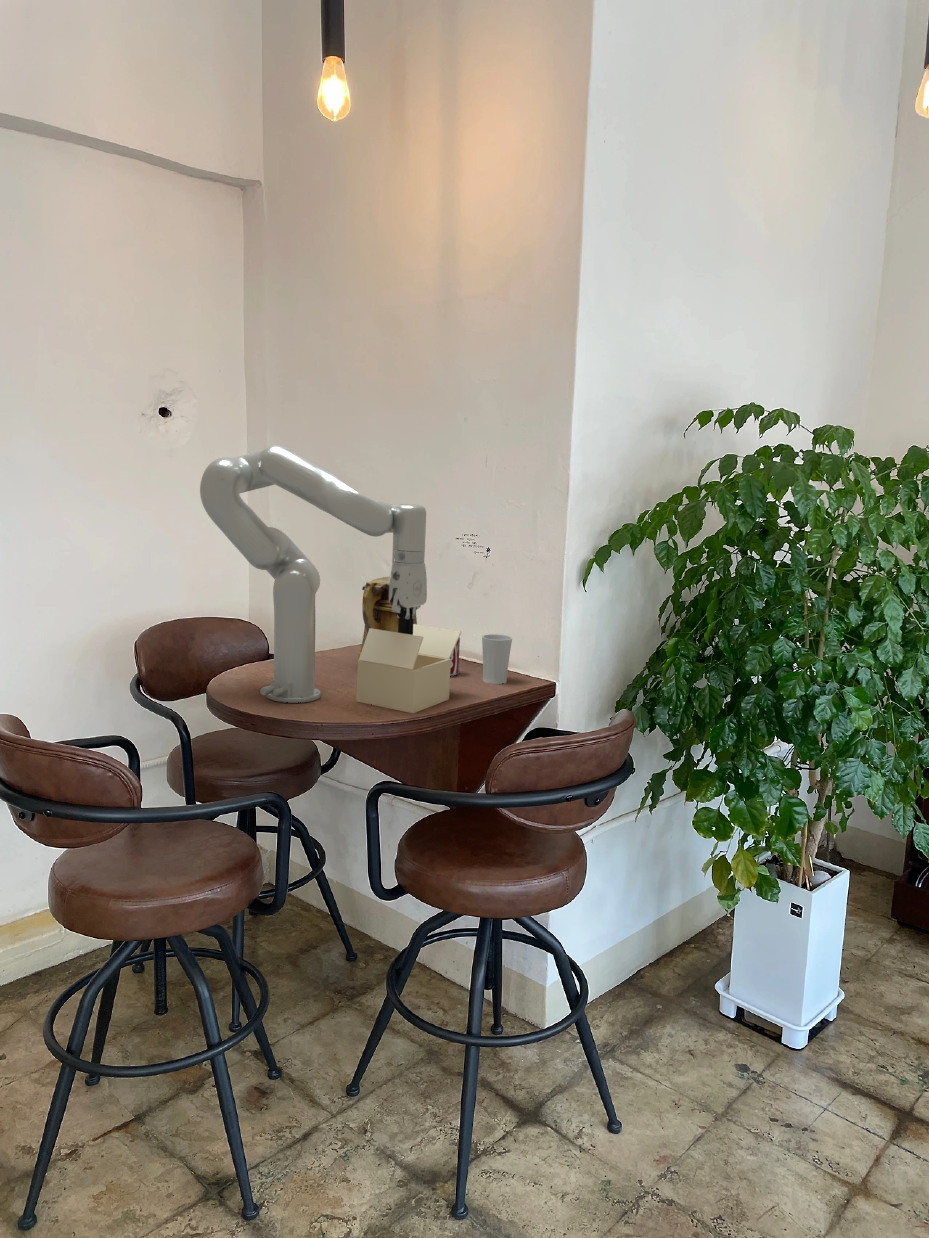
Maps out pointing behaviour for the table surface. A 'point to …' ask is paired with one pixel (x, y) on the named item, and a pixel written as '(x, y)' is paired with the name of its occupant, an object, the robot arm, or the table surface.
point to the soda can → (455, 659)
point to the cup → (495, 658)
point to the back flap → (436, 640)
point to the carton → (404, 684)
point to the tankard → (378, 608)
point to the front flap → (391, 648)
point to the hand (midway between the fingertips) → (405, 634)
